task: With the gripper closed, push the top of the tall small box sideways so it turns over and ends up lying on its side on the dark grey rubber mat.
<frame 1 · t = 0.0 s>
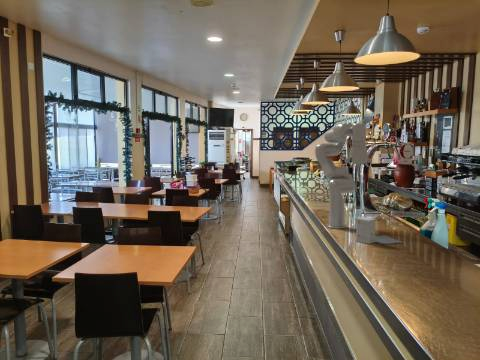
hand: (357, 173, 218), 37 cm above the worktop, tool pointing down, fingers open, 9 cm apart
small box: (365, 242, 207), on the worktop
mat: (383, 240, 210), on the worktop
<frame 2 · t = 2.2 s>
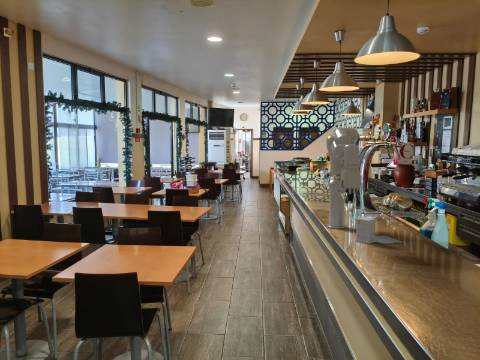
hand: (350, 201, 202), 23 cm above the worktop, tool pointing down, fingers closed
nothing on the worktop moved.
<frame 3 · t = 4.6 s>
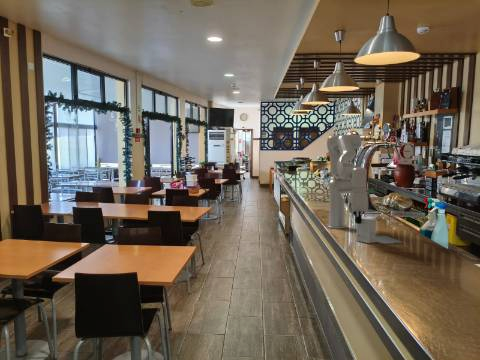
hand: (358, 223, 205), 11 cm above the worktop, tool pointing down, fingers closed
small box: (365, 241, 207), on the worktop, touching gripper
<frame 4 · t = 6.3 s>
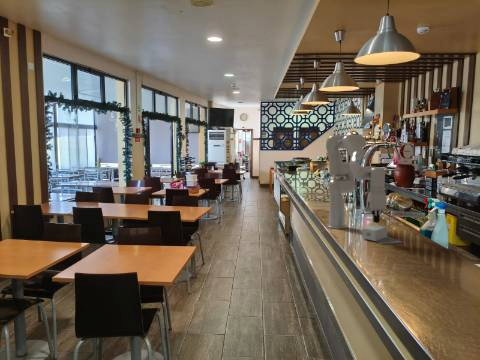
hand: (376, 222, 208), 11 cm above the worktop, tool pointing down, fingers closed
small box: (368, 234, 208), point 4 cm above the worktop, touching mat
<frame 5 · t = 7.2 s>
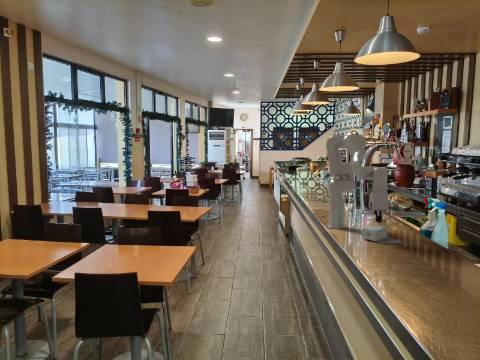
hand: (378, 222, 208), 11 cm above the worktop, tool pointing down, fingers closed
nothing on the worktop moved.
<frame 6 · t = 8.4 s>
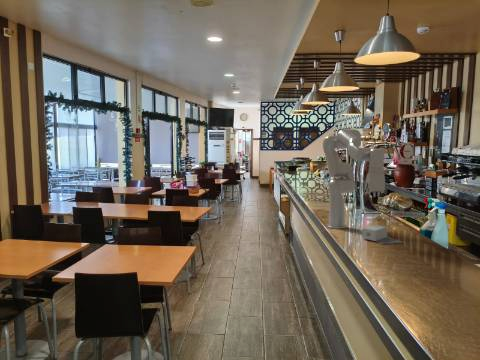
hand: (374, 203, 207), 21 cm above the worktop, tool pointing down, fingers closed
nothing on the worktop moved.
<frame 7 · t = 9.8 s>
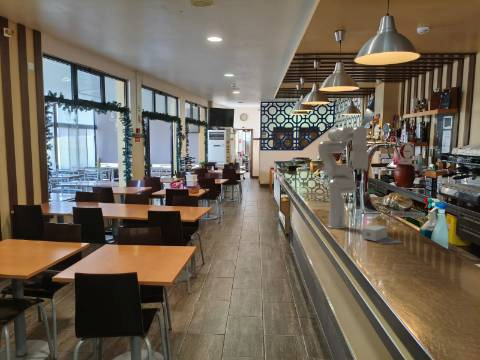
hand: (358, 180, 214), 33 cm above the worktop, tool pointing down, fingers closed
nothing on the worktop moved.
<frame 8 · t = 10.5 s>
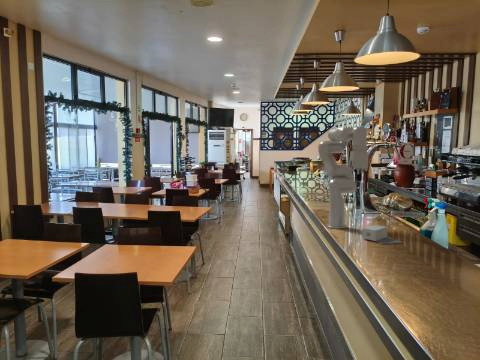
hand: (358, 180, 214), 33 cm above the worktop, tool pointing down, fingers closed
nothing on the worktop moved.
at the end: small box tilted 89°; small box touching mat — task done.
